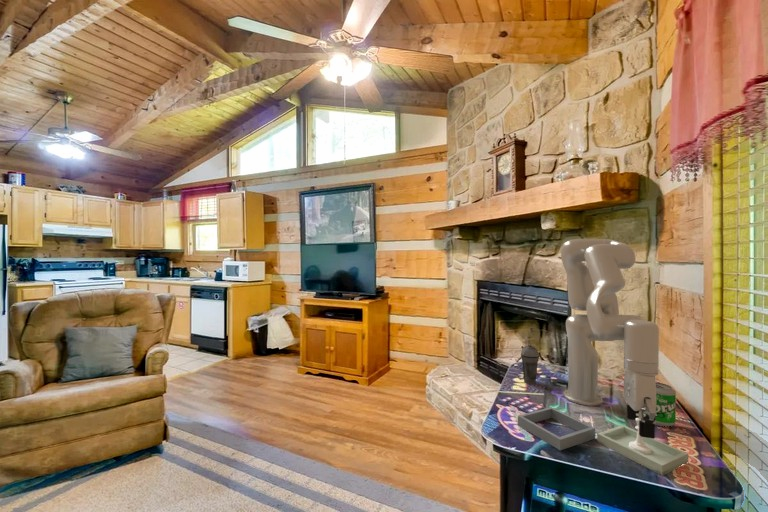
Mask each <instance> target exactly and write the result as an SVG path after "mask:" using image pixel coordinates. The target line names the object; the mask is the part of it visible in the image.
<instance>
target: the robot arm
mask: <svg viewBox="0 0 768 512" xmlns="http://www.w3.org/2000/svg"><path fill="white" fill-rule="evenodd" d="M560 259H561V262H562V265H563V268H564V270H565V274H566V284H567V285H566V286H567V298H568V303H569V307H570V308H571V309H572V310H574V311H583V312H586V314H584V313H583V314H572V315H570V316H568V317H567V318H566V320H565V330H566V336H567V345H568V347H567V348H568V350H567V351H568V354H567V355H568V357H567V359H568V361H567V363H568V365H567V366H568V367H567V368H568V371H567V373H568V374H567V375H568V376H567V377H568V379H567V383H568V384H567V385H568V387H567V389H565V390H563V396H564V398H565V399H566V400H568V401H570V402H572V403H576V404H579V405H581V406H582V405H583V406H588V407H589V406H590V407H591V406H592V407H594V406H596V407H597V406H601V405H603V403H604V402H603V398H602V397H601V396H600V395H599V393H601V392H603V391H605V388H604V386H603V385H599V384H598V383H599V381H598V380H599V379H598V378H599V375H598V374H599V373H598V372H599V366H598V365H599V363H598V362H599V361H598V360H599V355H598V354H599V353H598V352H597V350H596V348H595V347H594V345H593V344H592V343H591V342H594V341H595V342H615V341H623V369H624V370H625V371H624V379H623V392H622V393H623V394H622V395H623V399H624V401H625V402H626V418H627V419H628V420H633V421H636V420H635V418H639V416H636V413H637V414H639V413H640V418H641V421H640V420H639V435H640V436H641V437H646V438H653V439H656V435H655V432H656V431H655V430H656V428H655V427H656V425H655V420H656V419H655V415H656V383H655V382H656V376H658V375H659V353H660V352H659V351H660V350H659V347H660V346H659V344H660V341H659V340H660V338H659V337H660V330H659V329H660V328H659V326H658V324H657V323H655V322H653V321H649V320H646V319H645V318H643V317H642V316H639V315H635V314H620V311H619V302H618V301H619V300H618V296H617V294H616V293H618V292H620V291H621V290H623V289H624V287H625V286H626V281H625V278H624V276H623V274H622V273H623V272H622V271H621V270H625V269H626V270H628V269H630V268H632V267H633V266H634V265H635V263H636V254H635V252H634V249H633V248H632V247H631V246H630V245H628V243H624V242H620V241H617V240H615V239H610V238H576V239H569V240H567V241H565V242H564V243H563V244H562V246H561V250H560ZM583 262H585V263H586V264H585V263H583ZM645 409H647V410H645ZM645 413H647V414H648V415H645Z"/></svg>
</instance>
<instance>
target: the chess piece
mask: <svg viewBox="0 0 768 512" xmlns="http://www.w3.org/2000/svg"><path fill="white" fill-rule="evenodd" d="M636 416H639V418H635V420H634V421H635V422H636V425H635V427H634V428H635V430H636V431H638V432H637V438H636V440H635V441H631V442H629V447H630V448H632V449H634V450H636V451H638V452H640V453H643V454H650V453H651V448H650V447H649V446H648V445H646V444H645V443H644V441H643V437H641V436H640V435H639V420H640V421H641V418H640V413H639V414H637V413H636Z"/></svg>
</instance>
